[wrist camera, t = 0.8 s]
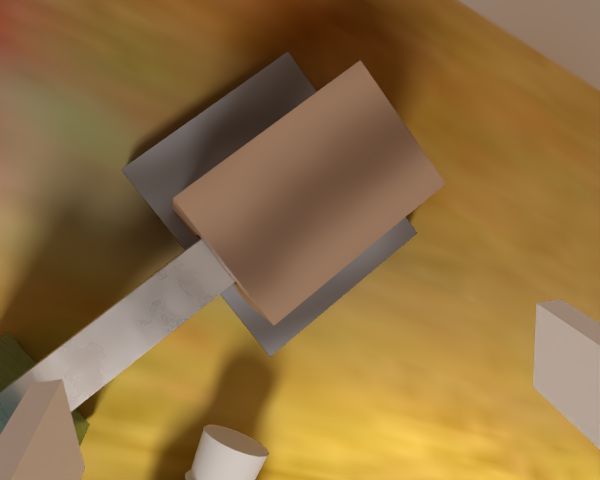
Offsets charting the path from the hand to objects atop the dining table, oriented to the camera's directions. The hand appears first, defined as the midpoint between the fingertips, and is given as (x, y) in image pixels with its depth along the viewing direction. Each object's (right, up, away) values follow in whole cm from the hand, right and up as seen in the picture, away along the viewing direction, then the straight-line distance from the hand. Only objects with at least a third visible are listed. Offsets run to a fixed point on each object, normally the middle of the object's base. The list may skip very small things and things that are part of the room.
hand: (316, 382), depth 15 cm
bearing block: (-2, +6, +24) cm, 25 cm away
